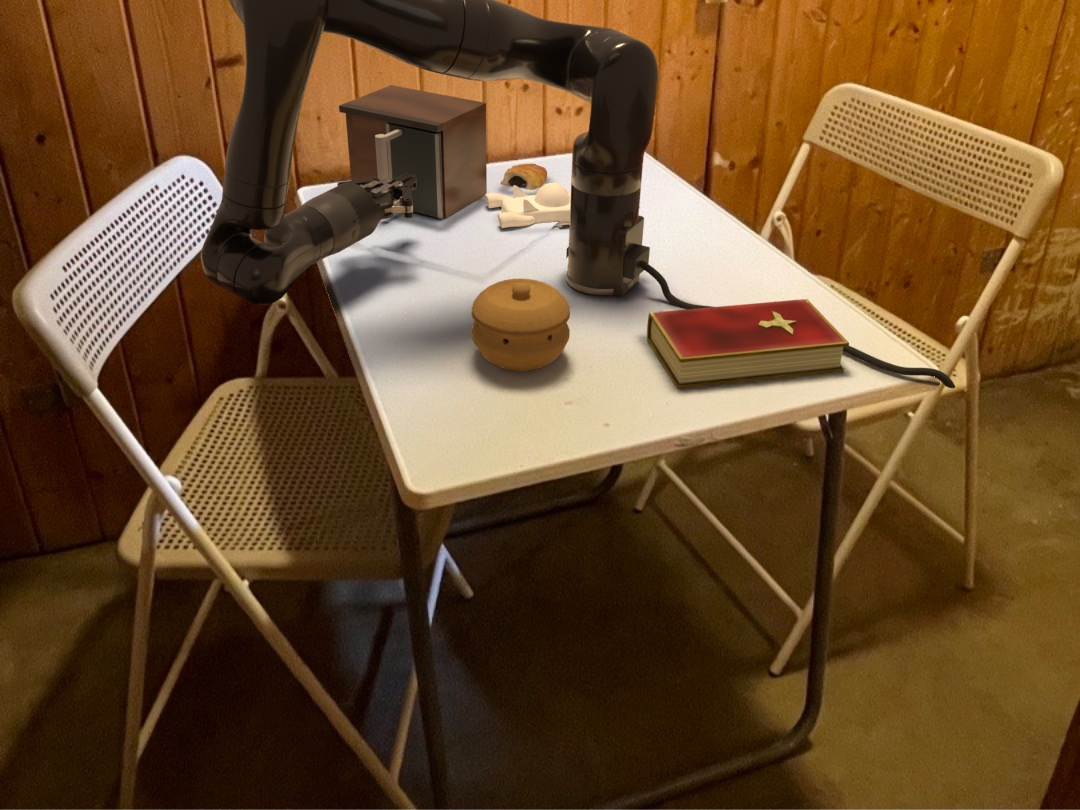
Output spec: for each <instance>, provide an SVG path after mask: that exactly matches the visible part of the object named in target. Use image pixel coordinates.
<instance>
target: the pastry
mask: <svg viewBox="0 0 1080 810" xmlns="http://www.w3.org/2000/svg"><path fill="white" fill-rule="evenodd" d="M547 178H548V171H547V169H546V167H544V166H541V165H539V164H536V163H520V164H515V165H512V166H511V168H508V169H507V170H506V171H505V173H504V175H503V178H502V180H501V181H500V185H502V186H508V187H514V185H515V186H517V187H525V188H524V189H525V190H527V191H531V190H536V189H540V188H541V187H542V186H543V185H545V184H546V182H547Z"/></svg>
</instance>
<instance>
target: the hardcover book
mask: <svg viewBox="0 0 1080 810" xmlns="http://www.w3.org/2000/svg"><path fill="white" fill-rule="evenodd" d="M647 317H648V318H647V324H646V325H647V326H646V342H647V343H648V344H649V346H650V347H651V349H652V351H653V352H654V354H655V356H656V357H657V359H658V361H659V362H660V363H661V365H662V367H663V368H664V370H665V372H666V373H667V375H668V376H669V378H670V379H671V381H672V383H673V384H674V386H675V388H676V389H677V390H679V389H687V388H688V389H689V388H698V387H707V386H717V385H726V384H727V385H728V384H737V383H744V382H756V381H764V380H776V379H784V378H794V377H804V376H812V375H822V374H823V375H824V374H832V373H833V374H834V373H842V372H843V373H844V370H845V368H844V367H843V365H842V364H841V361H842V357H843V353H844V352H843V348H844V346H850V342H849V341H848V340H847V339H846V338H845V337H844V336H843V335H842V334H841V332H840V331H839V330H838V329H837V328H836V327H835V326H834V325H833V324H832V323H831V322H830V321H829V320H828V319H827V318H826V317H825V316H824V314H822V312H821V311H819V309H818V308H816V306H815V305H814V304H813V303H812V302H811V301H810V300H809V299H808V298H802V299H791V300H780V301H767V302H756V303H746V304H745V303H743V304H733V305H721V306H712V307H709V308H698V309H677V310H665V311H655V312H654V311H653V312H652V311H651V312H648V316H647Z"/></svg>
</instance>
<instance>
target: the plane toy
mask: <svg viewBox="0 0 1080 810" xmlns="http://www.w3.org/2000/svg"><path fill="white" fill-rule="evenodd" d="M512 190H513V193H512V195H513V197H512V196H509V195H505V194H502V193H499V192H489V193H488V192H487V194H485V196H484V198H485V199H484V200H485V203H486V206H487V208H488V209H492V208H493V209H494V208H501V212H498V213H497V220H498V222H499V226H500V228H501V229H506V228H507V229H508V228H512V227H513V228H522V227H528V226H531V225H534V224H543V223H554V222H555V224H554V225H553V227H555V226H568V225H569V226H570V201H571V190H570V191H568V190H567V188H565V187H564V186H563V185H562V184H559V183H557V182H547V183H544V184H543V185H542V186H541V187H539V188H538V190H537V192H536V194H531V195H529V194H527V193H525V192H524V191H523V189H521V188H520V186H515V185H514V186H513V189H512ZM556 222H557V223H556Z"/></svg>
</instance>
